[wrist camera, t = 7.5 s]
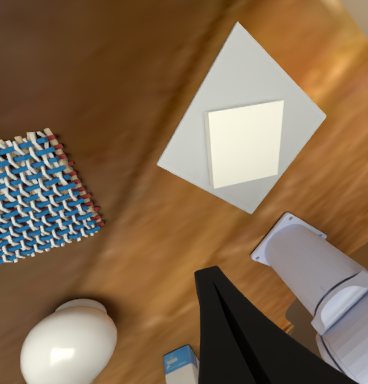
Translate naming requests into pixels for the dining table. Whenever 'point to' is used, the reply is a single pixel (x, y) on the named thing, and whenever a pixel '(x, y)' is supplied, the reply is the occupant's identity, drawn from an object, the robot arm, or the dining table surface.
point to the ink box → (181, 366)
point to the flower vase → (69, 345)
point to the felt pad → (235, 97)
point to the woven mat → (41, 198)
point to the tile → (243, 142)
